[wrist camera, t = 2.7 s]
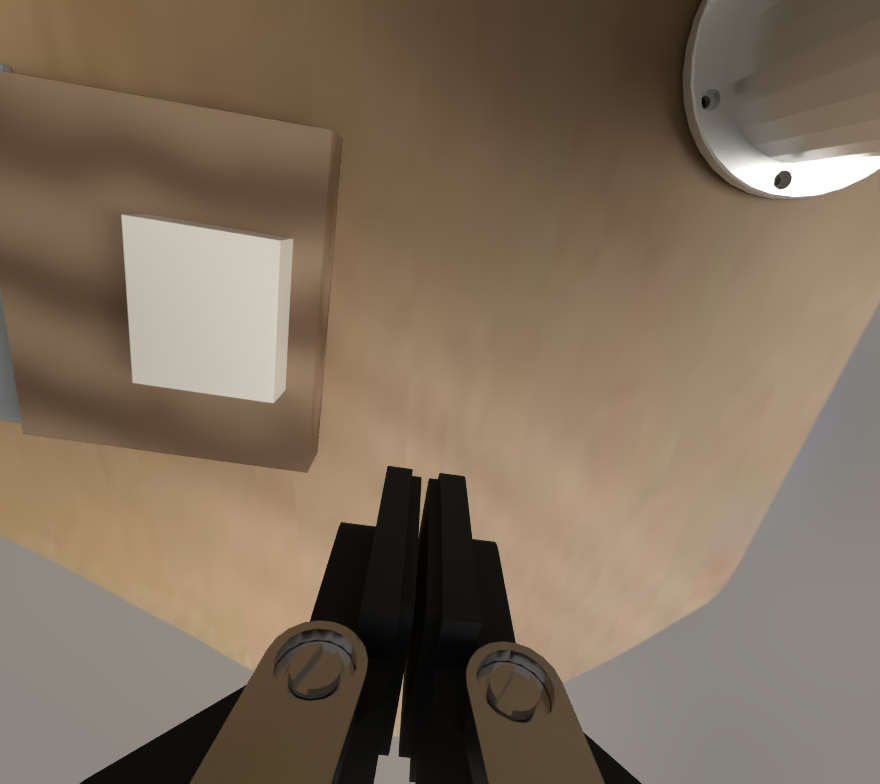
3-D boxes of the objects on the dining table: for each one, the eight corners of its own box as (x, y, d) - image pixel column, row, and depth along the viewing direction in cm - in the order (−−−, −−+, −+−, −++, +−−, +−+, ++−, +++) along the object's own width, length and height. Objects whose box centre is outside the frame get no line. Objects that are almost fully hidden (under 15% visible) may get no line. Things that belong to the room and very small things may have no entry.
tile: (147, 214, 23) (121, 214, 21) (293, 238, 23) (280, 240, 22) (154, 370, 26) (132, 382, 24) (285, 389, 26) (273, 403, 24)
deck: (12, 79, 23) (-36, 64, 21) (342, 138, 24) (332, 130, 22) (56, 416, 29) (23, 433, 27) (317, 452, 30) (307, 472, 28)
